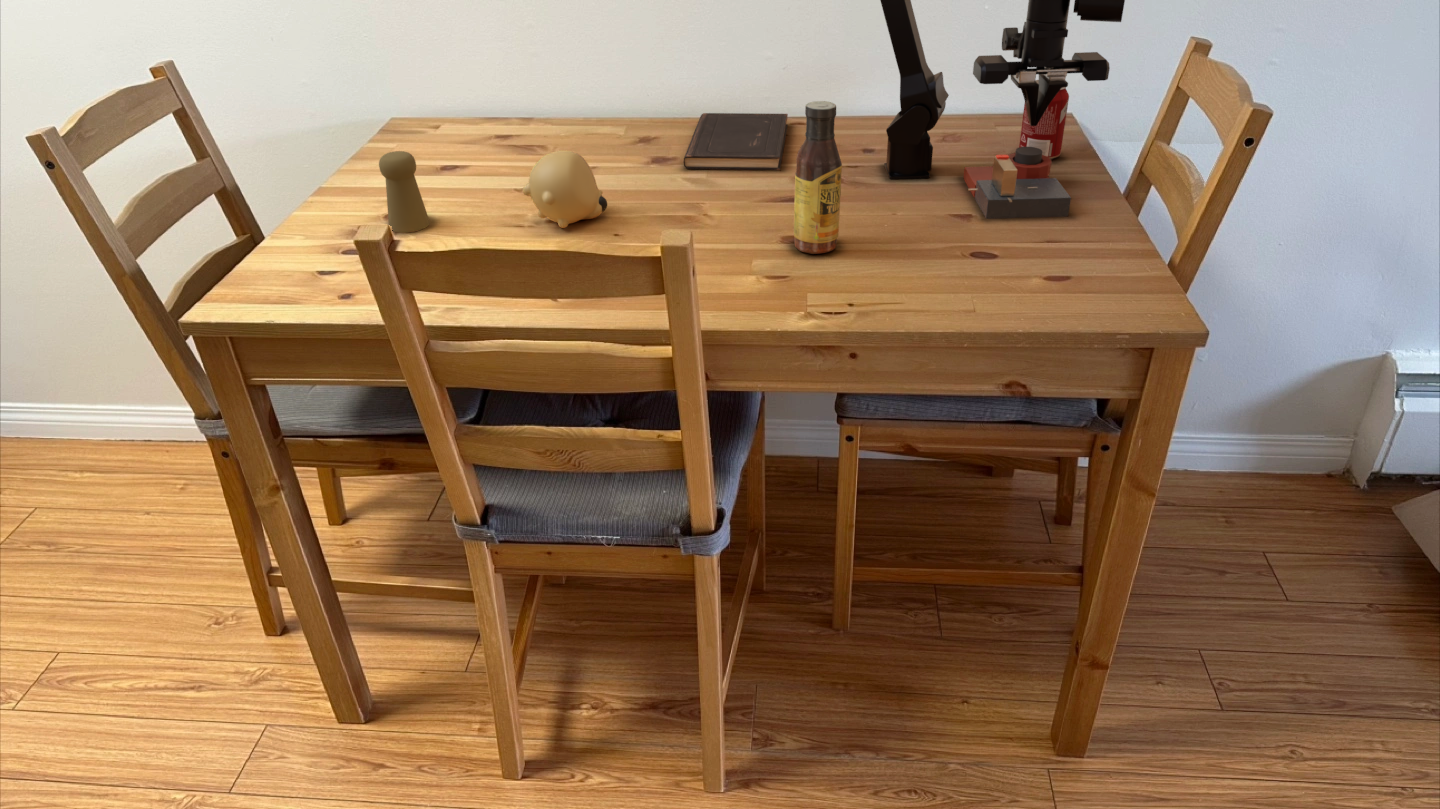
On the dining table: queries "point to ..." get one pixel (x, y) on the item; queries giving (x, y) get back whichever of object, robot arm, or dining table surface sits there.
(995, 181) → the tan and red box
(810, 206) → the sauce bottle
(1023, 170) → the button box
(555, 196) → the tan rounded figure
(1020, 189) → the dark grey panel
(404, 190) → the brown game pawn
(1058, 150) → the soda can
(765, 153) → the hardcover book
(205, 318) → the dining table surface
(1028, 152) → the button
